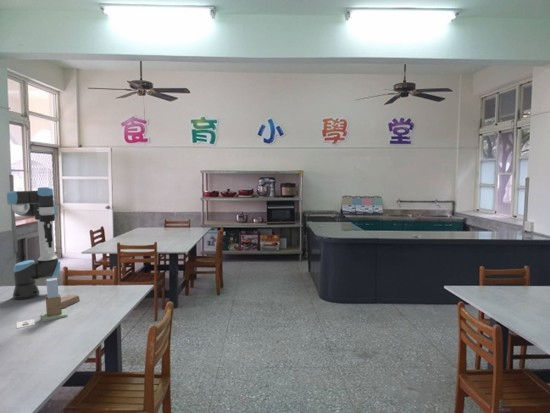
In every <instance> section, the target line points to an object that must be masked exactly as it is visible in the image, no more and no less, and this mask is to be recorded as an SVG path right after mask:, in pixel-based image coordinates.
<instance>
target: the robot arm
mask: <svg viewBox="0 0 550 413" xmlns="http://www.w3.org/2000/svg"><path fill="white" fill-rule="evenodd" d="M6 201H7V205H10V206H11V209H12V212H13V213H14V214H16V215H17V216H20V217H25V218H34V219H35V221H36V222H37V230H38V240H39V242H38V243H39V255H40V256H39V257H38V259H37V261H35V260H34V259H28V260H23V261H20V262H18V263H15V264H14V266H13V273H14V276H13V277H14V289H13V293H12V299H13V300H16V301H17V300H19V301H21V300H28V299H29V300H30V299H32V298H36V297H38V296H40V293H41V292H40V289H39V287H38V285H37V282H36V280H40V279H52V278H57V277H58V276H60V273H61V272H60V271H61V259H60V258H58V256H57V255H56V250H55V240H54V239H55V238H54V223H53V222H54V221H56V216H57V215H58V211H57V206H56V203H55V200H54V190H53V187H51V186H44V187H40V186H39V187H38V188H37V190H22V191H21V190H20V191H19V190H17V191H16V190H12V191H8V192H6Z"/></svg>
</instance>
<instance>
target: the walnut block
mask: <svg viewBox="0 0 550 413" xmlns="http://www.w3.org/2000/svg"><path fill="white" fill-rule="evenodd" d="M58 294H59V297H56V298H50V299H48V296H45V306H46V307H45V308H46V312H47V316H48V317H50V316H55V315H60V314H62V308H61V298H62V297H61V295H60V293H58Z"/></svg>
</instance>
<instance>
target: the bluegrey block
mask: <svg viewBox="0 0 550 413" xmlns="http://www.w3.org/2000/svg"><path fill="white" fill-rule="evenodd" d="M45 279H46V282H45V283H46V295H47V296H48V299H50V298H56V297H59V294H60V293H59V282H58V277H52V278H45Z"/></svg>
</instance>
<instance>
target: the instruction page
mask: <svg viewBox="0 0 550 413" xmlns="http://www.w3.org/2000/svg"><path fill="white" fill-rule="evenodd" d="M30 326H35V319H33V318H32V319H27V320H22V321H17V322H16V329H21V328H25V327H30Z"/></svg>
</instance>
